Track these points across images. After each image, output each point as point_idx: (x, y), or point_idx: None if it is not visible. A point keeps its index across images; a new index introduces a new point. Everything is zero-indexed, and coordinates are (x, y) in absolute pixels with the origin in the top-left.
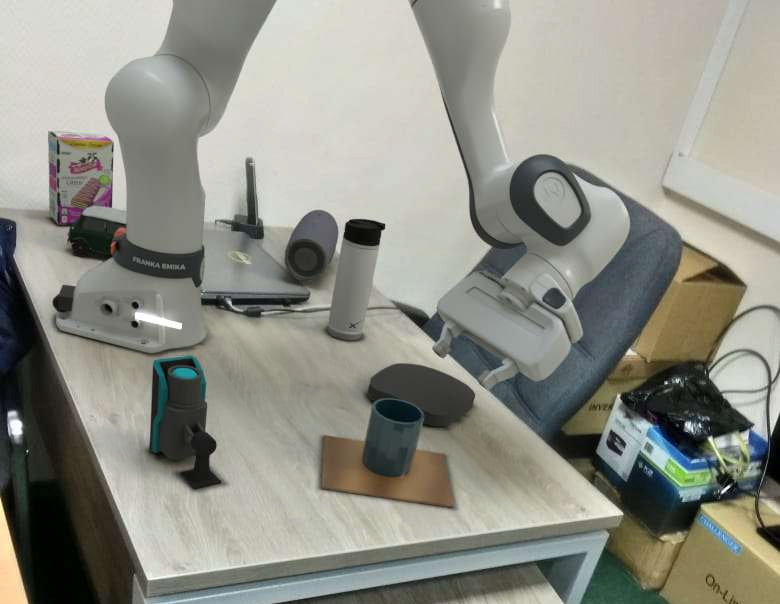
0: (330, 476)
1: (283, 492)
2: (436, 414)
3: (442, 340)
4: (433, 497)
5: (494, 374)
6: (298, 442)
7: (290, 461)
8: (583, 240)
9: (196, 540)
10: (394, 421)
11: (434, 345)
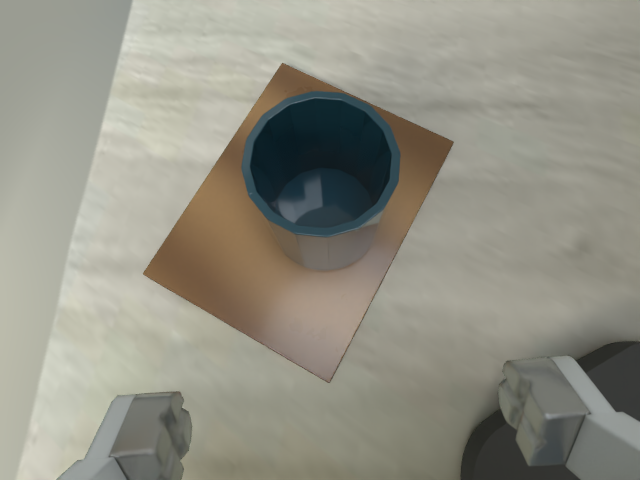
0: (306, 88)
1: (291, 8)
2: (480, 458)
3: (584, 409)
4: (181, 247)
5: (76, 461)
6: (441, 90)
7: (378, 52)
8: None
9: None
10: (266, 117)
11: (570, 362)
